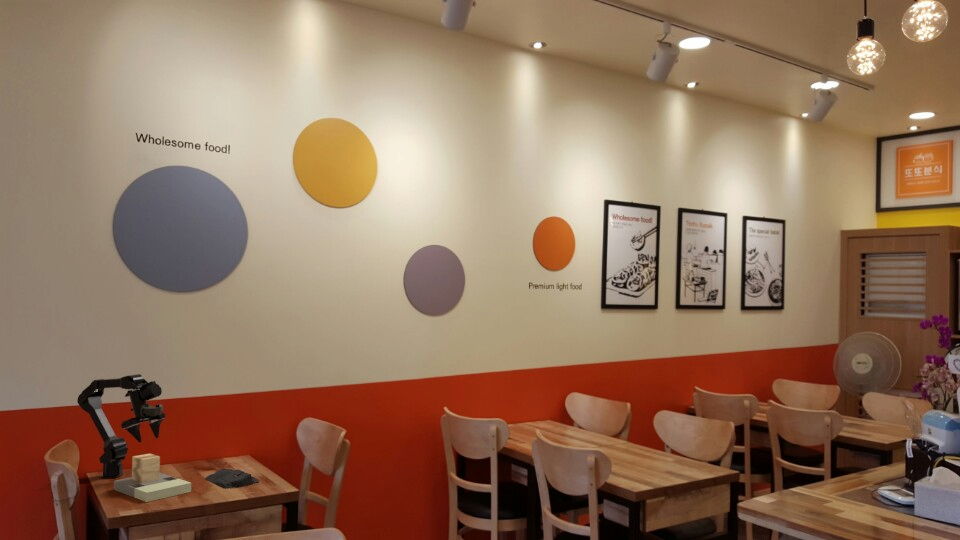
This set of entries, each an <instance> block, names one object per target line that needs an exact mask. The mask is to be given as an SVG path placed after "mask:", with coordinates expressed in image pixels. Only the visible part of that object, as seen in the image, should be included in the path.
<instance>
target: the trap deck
mask: <svg viewBox="0 0 960 540" xmlns="http://www.w3.org/2000/svg"><path fill="white" fill-rule="evenodd" d="M113 491H116V492H119V493H121V494H124V495H127V496H130V497H131V498H135V499H138V500H140V501H141V502H145V503H148V502H153V501H157V500H162V499H165V498H170V497H173V496H174V497H175V496H179V495H183V494H188V493H191V492H192V482H190V481H186V480H183V479H181V478H178V477H174V476H172V475H168V474H165V473H163V472H160V471H159V479H158V480H154V481H149V482H144V483H141V482H138V481H135V480H132V476H131V477H127V478H121V479H117V480H114V481H113Z"/></svg>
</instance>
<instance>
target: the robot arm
mask: <svg viewBox="0 0 960 540" xmlns="http://www.w3.org/2000/svg"><path fill="white" fill-rule="evenodd" d="M110 388H114V389H115V388H121V389H122V390H123V389H124V390H127V392H126V393H125V395H124V397H125V398H128V397H129V399H130V402H131V408H130V412H133V415H134V417H131V418H128V419H126V420H122V421H121V424H120V426H121V429H122V430H123V429H124V431H127V432H128V433H129V434H130V435H132V438H133V437H134V439H135V440H136V441H137V442H138V443H142V441H143V440H142V435H141V431H140V428H141V423H146V422H148V426H149V427H150V430H151V432H152V434H153V436H154V438H155V439H159V435H160V427H161V424H162V422H163V421H164V420H165V419H166V414H165V412H164V407H163V404H161V403H157V404H156V405H155V406H152V405H151V403H148V402H149V401H151V400H153V399H154V398H158V397H160V396H161V394H162V393H163V391H162V387H161V386H160V385H159V384H158V383H156V381H155V380H154V381H153V380H151V381H150V382H148V381H147V380H146V379H145V378H144V377H143V376H142V374H130V375H125V376H123V377H120V378H119V377H118V378H99V379H94V380H92V381H91V382H90V384H89V385H88V386H86V388H85V389H83V390H82V391H81V393H80V394H78V397H77V399H76V400H77V404H78V405H79V407H80V409H81V410H82V411H84V412H85V413H87V414H88V415H89V416H90V418H91V420H92V422H93V424H94V426H95V427H96V430H97V431H98V433H99V435H100V437H101V440H102V441H103V449H102V450H103V453H102V455H101V456H99V459H98V460H99V463H100V464H102V475H101V476H100V478H101V479H103V478H104V479H105V478H106V479H117V478H119V477H120V476H122V475H124V473H123V464H122V461H124V460H126V456H127V454H128V451H129V448H128V443H127V442H126V441H125V438H124V437H123V436H122V437H118V436H117V435H116V433H115V432H114V429H113V428H112V426H111V424H110V422H109V420H108V419H107V417H106V414H105V412H104V411H103V409H102V404H103V400H102V397H103V395H104V393H105V389H110ZM97 389H98V392H96V390H97ZM94 391H95V392H94Z"/></svg>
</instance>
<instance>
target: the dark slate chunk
mask: <svg viewBox="0 0 960 540" xmlns="http://www.w3.org/2000/svg"><path fill="white" fill-rule="evenodd" d="M204 480H205V481H207V482H210V483H212V484H213V485H216V486H219V487H220V488H222V489H231V490H232V489H234V488H236V489H237V488H241V487H248V486H251V485H254V484H257V483H259V482H260V479H259V478H256V477H255V476H252V474H251V473H248V472H245V471H243V470H241V469H231V468H221V469H219V470H216V471H215V472H214V473H211V474H209V475H207V476H206V477H205V478H204Z"/></svg>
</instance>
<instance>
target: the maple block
mask: <svg viewBox="0 0 960 540" xmlns="http://www.w3.org/2000/svg"><path fill="white" fill-rule="evenodd" d="M131 462H132V463H131V465H132V466H131V477H132V480H135V481H138V482H141V483H144V482H149V481H154V480H158V479H159V472H160V467H161V456H159V455H156V454H153V453H145V454H139V455H133V456H132V461H131Z"/></svg>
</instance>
